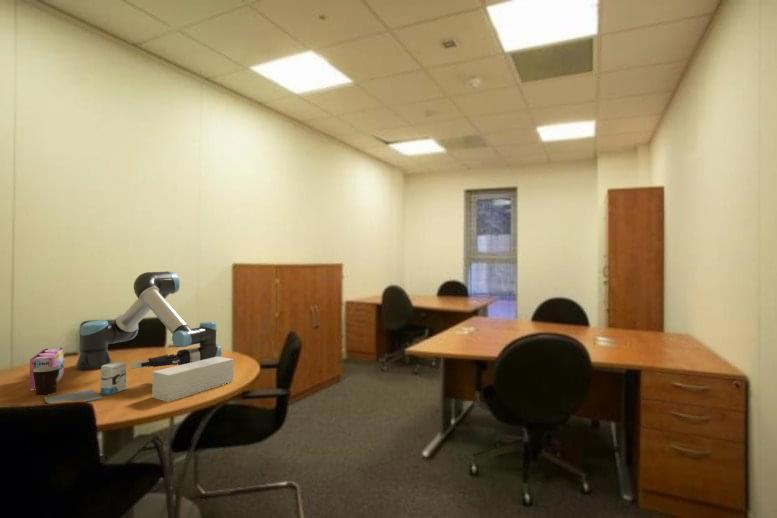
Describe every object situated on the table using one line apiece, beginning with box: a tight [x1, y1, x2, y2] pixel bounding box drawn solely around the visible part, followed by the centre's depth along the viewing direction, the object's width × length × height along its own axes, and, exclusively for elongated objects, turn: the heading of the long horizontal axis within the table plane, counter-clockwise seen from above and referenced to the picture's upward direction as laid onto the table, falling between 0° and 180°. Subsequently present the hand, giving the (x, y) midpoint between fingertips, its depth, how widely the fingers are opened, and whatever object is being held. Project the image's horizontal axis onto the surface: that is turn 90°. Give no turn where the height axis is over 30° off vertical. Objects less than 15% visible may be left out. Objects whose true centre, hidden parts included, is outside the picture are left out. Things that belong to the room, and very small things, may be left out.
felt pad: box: [43, 388, 103, 403], centre depth 168 cm, size 16×16×1 cm
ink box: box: [100, 361, 127, 396], centre depth 179 cm, size 8×5×12 cm, turn 168°
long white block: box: [151, 356, 235, 403], centre depth 183 cm, size 32×11×11 cm, turn 151°
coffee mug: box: [33, 367, 60, 396], centre depth 174 cm, size 12×9×10 cm
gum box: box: [28, 347, 65, 391], centre depth 191 cm, size 24×8×14 cm, turn 27°
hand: (132, 365), depth 183 cm, fingers closed
